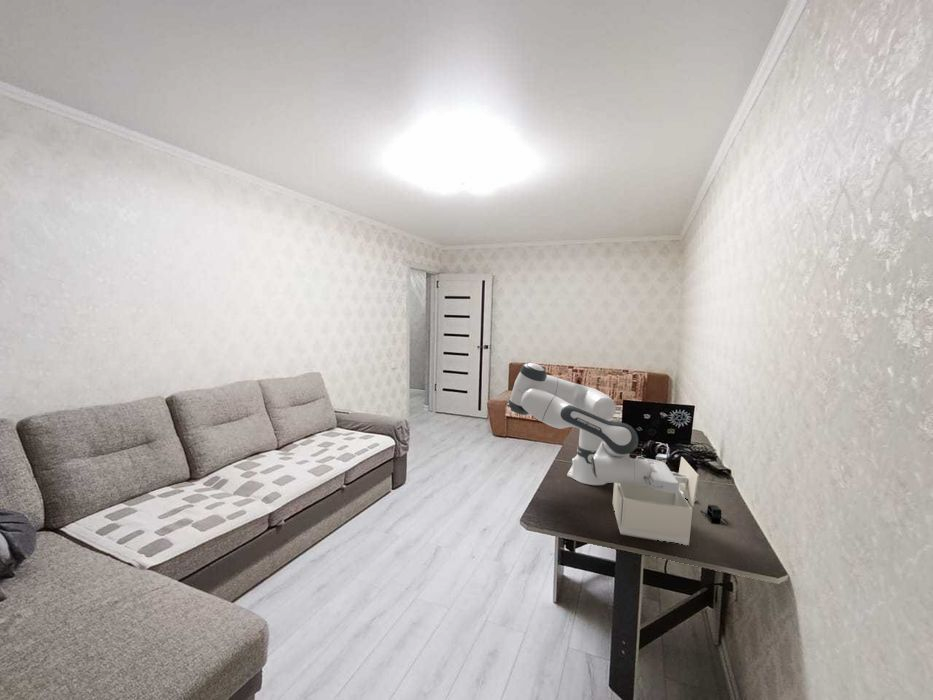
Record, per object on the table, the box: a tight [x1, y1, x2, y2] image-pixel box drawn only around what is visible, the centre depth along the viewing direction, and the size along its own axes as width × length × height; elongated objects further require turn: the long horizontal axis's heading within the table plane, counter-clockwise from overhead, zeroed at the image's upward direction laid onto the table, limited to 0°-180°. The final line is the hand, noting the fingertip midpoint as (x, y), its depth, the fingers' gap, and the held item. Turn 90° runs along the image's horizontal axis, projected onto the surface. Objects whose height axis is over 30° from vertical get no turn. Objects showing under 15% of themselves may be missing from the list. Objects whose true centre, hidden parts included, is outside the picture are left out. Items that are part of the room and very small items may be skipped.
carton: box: [612, 483, 693, 547], centre depth 133 cm, size 19×21×12 cm
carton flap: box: [678, 456, 700, 507], centre depth 129 cm, size 17×10×1 cm
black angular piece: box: [703, 504, 729, 526], centre depth 141 cm, size 12×7×5 cm, turn 171°
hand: (686, 479), depth 129 cm, fingers closed, pressing on carton flap
